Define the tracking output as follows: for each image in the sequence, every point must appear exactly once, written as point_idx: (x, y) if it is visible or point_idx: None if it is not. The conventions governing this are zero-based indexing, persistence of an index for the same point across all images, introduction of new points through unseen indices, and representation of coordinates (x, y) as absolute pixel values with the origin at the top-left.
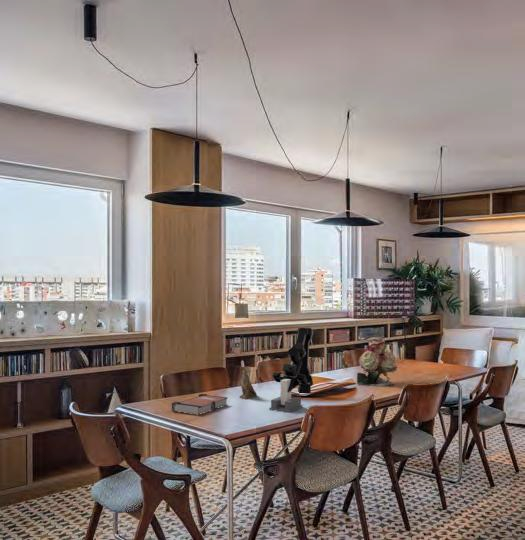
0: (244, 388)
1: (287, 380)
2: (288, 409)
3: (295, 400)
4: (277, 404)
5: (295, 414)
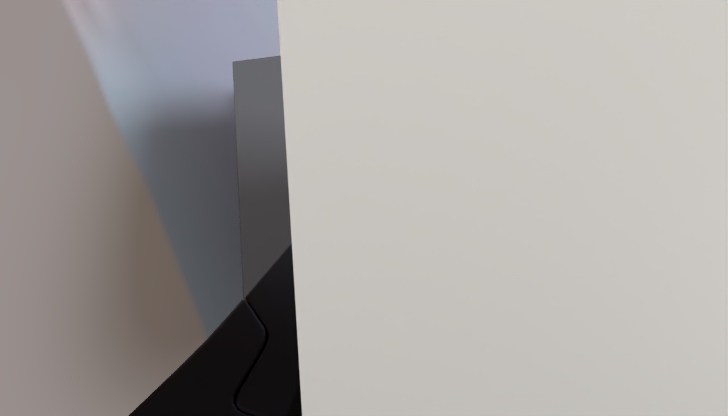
0: None
1: (303, 50)
2: None
3: (245, 288)
4: None
5: (157, 57)
